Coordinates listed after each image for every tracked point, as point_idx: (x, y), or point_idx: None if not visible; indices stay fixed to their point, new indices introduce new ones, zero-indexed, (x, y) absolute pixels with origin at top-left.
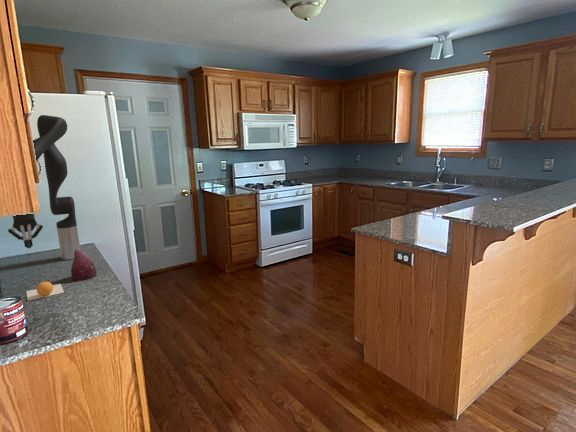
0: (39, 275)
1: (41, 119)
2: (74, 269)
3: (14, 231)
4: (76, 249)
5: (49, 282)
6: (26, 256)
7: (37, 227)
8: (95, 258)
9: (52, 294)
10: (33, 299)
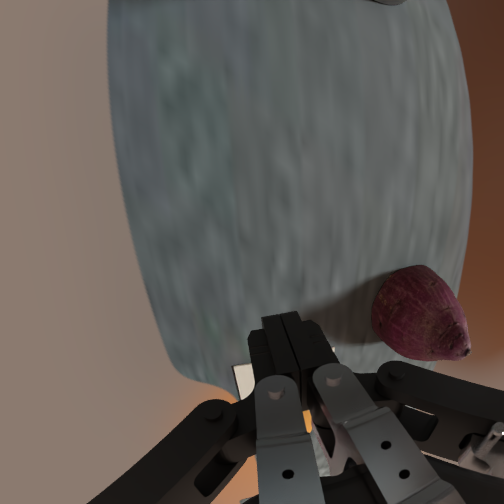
0: (263, 170)
1: None
2: (397, 352)
3: None
4: (464, 357)
5: (309, 430)
6: None
7: (471, 466)
8: (455, 72)
9: None
10: None
